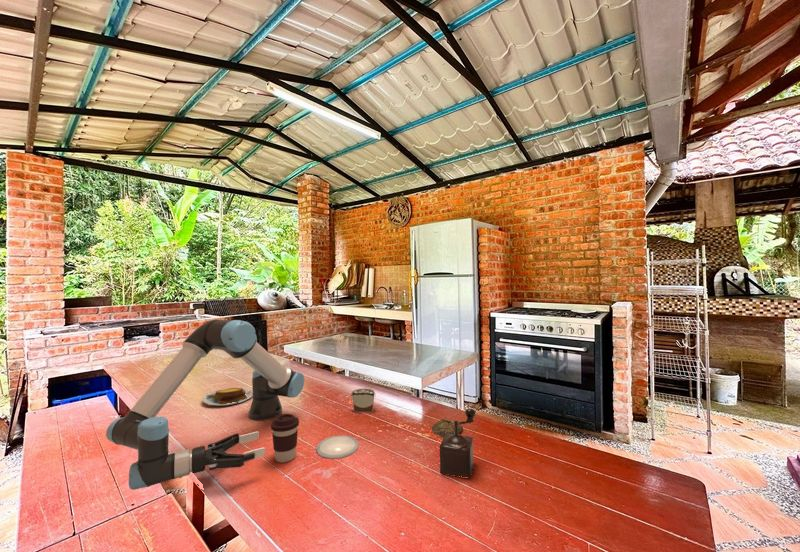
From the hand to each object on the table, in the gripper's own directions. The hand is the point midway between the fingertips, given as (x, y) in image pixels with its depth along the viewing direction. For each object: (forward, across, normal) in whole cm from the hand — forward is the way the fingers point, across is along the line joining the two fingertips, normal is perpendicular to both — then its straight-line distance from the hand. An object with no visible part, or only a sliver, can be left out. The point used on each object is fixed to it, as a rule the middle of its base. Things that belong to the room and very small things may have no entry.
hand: (261, 442), depth 116 cm
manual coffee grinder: (+59, +39, -8) cm, 71 cm away
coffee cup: (+8, 0, -8) cm, 12 cm away
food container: (+52, -23, -8) cm, 58 cm away
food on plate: (-5, -79, -8) cm, 80 cm away
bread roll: (+72, +17, -8) cm, 74 cm away
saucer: (+27, +4, -8) cm, 29 cm away
